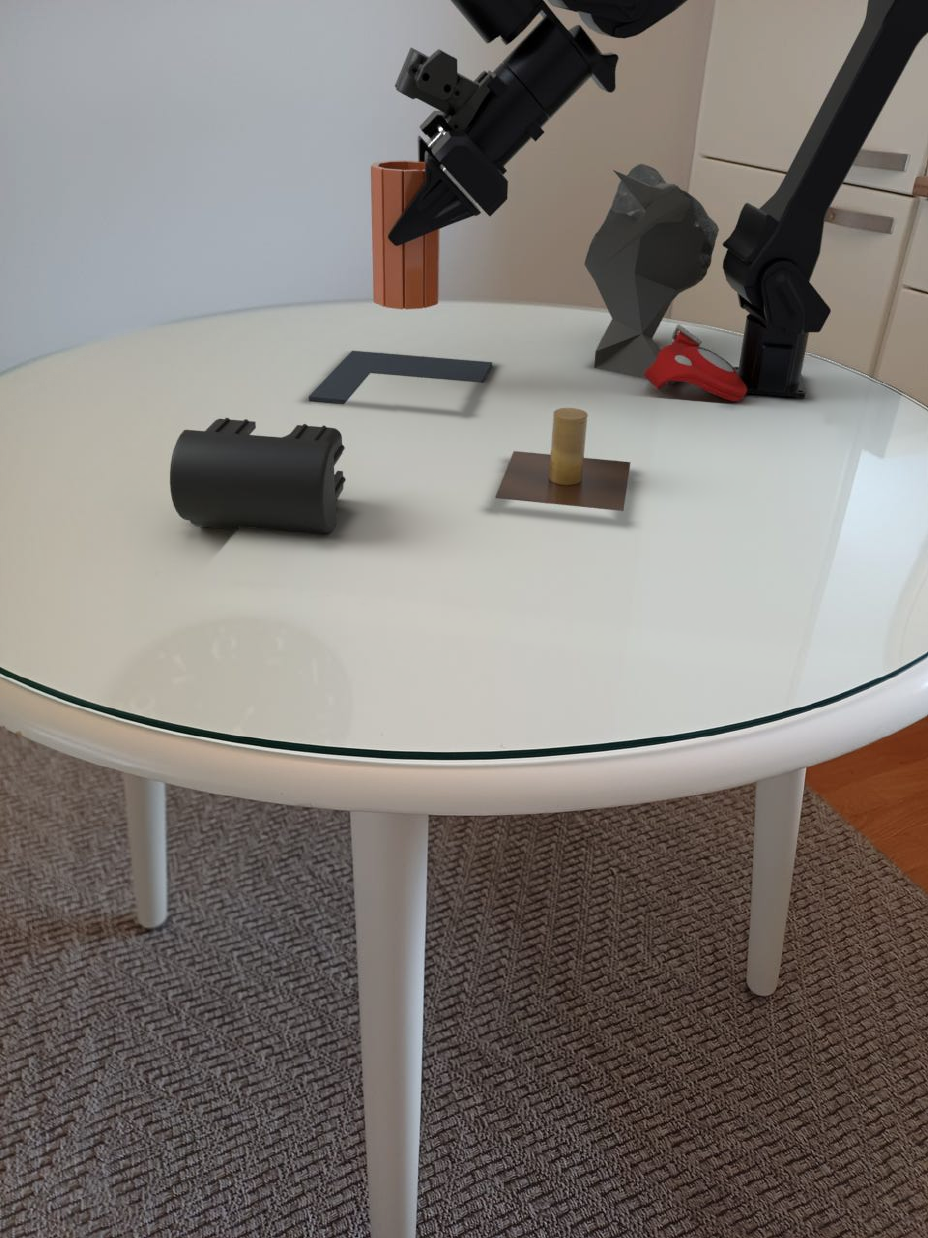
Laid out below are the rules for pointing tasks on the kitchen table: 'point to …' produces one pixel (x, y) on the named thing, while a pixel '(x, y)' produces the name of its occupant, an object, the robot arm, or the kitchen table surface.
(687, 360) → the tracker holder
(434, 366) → the flat corner bracket
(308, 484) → the end cap
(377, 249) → the orange tube
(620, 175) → the grey angular chunk
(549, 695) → the kitchen table surface
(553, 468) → the ring holder
